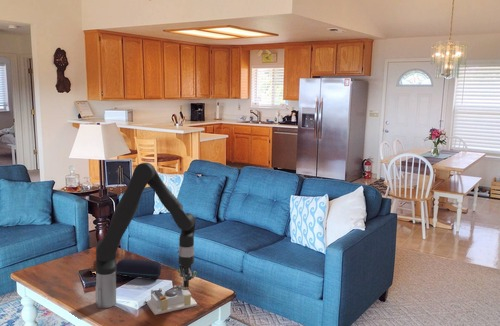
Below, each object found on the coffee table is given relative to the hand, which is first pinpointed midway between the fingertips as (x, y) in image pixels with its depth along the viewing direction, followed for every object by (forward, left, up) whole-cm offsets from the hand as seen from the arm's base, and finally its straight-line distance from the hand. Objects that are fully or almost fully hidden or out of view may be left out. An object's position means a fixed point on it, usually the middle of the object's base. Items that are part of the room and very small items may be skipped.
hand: (186, 286), depth 224 cm
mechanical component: (+8, +17, -10) cm, 22 cm away
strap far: (0, +4, -3) cm, 5 cm away
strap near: (-12, +4, -4) cm, 14 cm away
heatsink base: (-6, +4, -10) cm, 12 cm away
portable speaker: (-11, +41, -10) cm, 44 cm away
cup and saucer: (-30, +57, -10) cm, 65 cm away
